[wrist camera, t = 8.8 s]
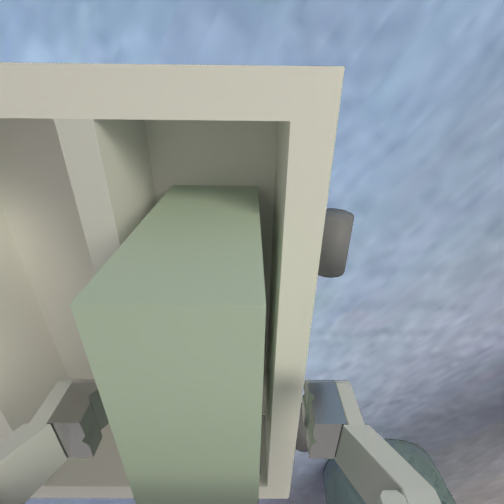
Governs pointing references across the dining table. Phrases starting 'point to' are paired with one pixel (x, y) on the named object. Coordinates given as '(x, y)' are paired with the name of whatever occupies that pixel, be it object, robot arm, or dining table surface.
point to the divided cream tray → (141, 203)
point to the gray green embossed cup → (346, 496)
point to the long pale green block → (183, 346)
